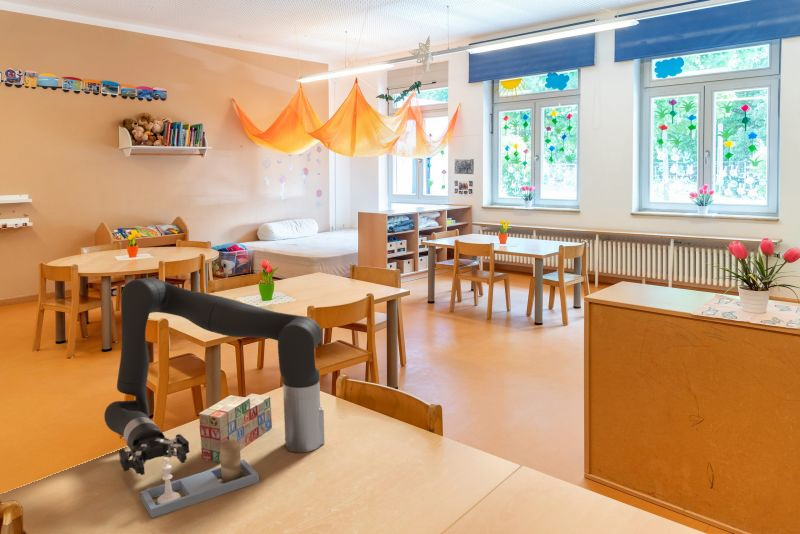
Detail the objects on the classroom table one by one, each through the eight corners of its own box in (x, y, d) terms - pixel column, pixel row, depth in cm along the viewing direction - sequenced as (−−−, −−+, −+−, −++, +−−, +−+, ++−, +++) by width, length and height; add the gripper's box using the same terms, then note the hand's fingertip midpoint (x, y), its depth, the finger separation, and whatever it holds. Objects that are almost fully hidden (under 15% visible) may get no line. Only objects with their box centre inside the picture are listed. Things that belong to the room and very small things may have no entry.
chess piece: (151, 504, 129) (148, 461, 128) (168, 492, 134) (165, 451, 132) (169, 509, 127) (166, 465, 126) (186, 497, 132) (183, 455, 130)
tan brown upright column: (237, 473, 142) (235, 438, 140) (244, 481, 138) (242, 445, 137) (219, 479, 139) (216, 443, 138) (226, 487, 136) (223, 450, 134)
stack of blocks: (253, 424, 168) (251, 382, 166) (272, 428, 166) (270, 385, 164) (201, 459, 149) (198, 412, 147) (222, 464, 147) (219, 416, 144)
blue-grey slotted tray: (244, 466, 145) (244, 459, 145) (258, 481, 138) (258, 473, 138) (141, 499, 131) (140, 491, 131) (151, 518, 124) (151, 509, 124)
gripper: (110, 430, 139) (127, 458, 126) (173, 415, 147) (195, 439, 135) (113, 460, 140) (130, 491, 128) (175, 443, 149) (197, 470, 136)
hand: (163, 464), depth 131 cm, fingers open, 8 cm apart
